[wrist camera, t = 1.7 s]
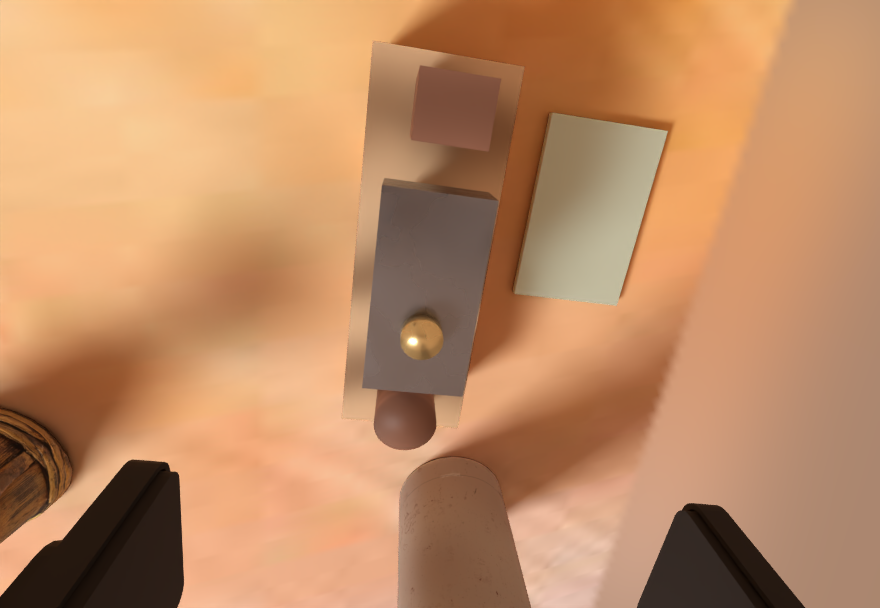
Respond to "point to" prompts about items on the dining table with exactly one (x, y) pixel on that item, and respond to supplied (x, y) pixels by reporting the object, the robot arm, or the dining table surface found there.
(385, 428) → the body
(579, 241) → the felt mat
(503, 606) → the thermos bottle
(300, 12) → the dining table surface
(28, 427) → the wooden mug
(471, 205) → the lever cap
